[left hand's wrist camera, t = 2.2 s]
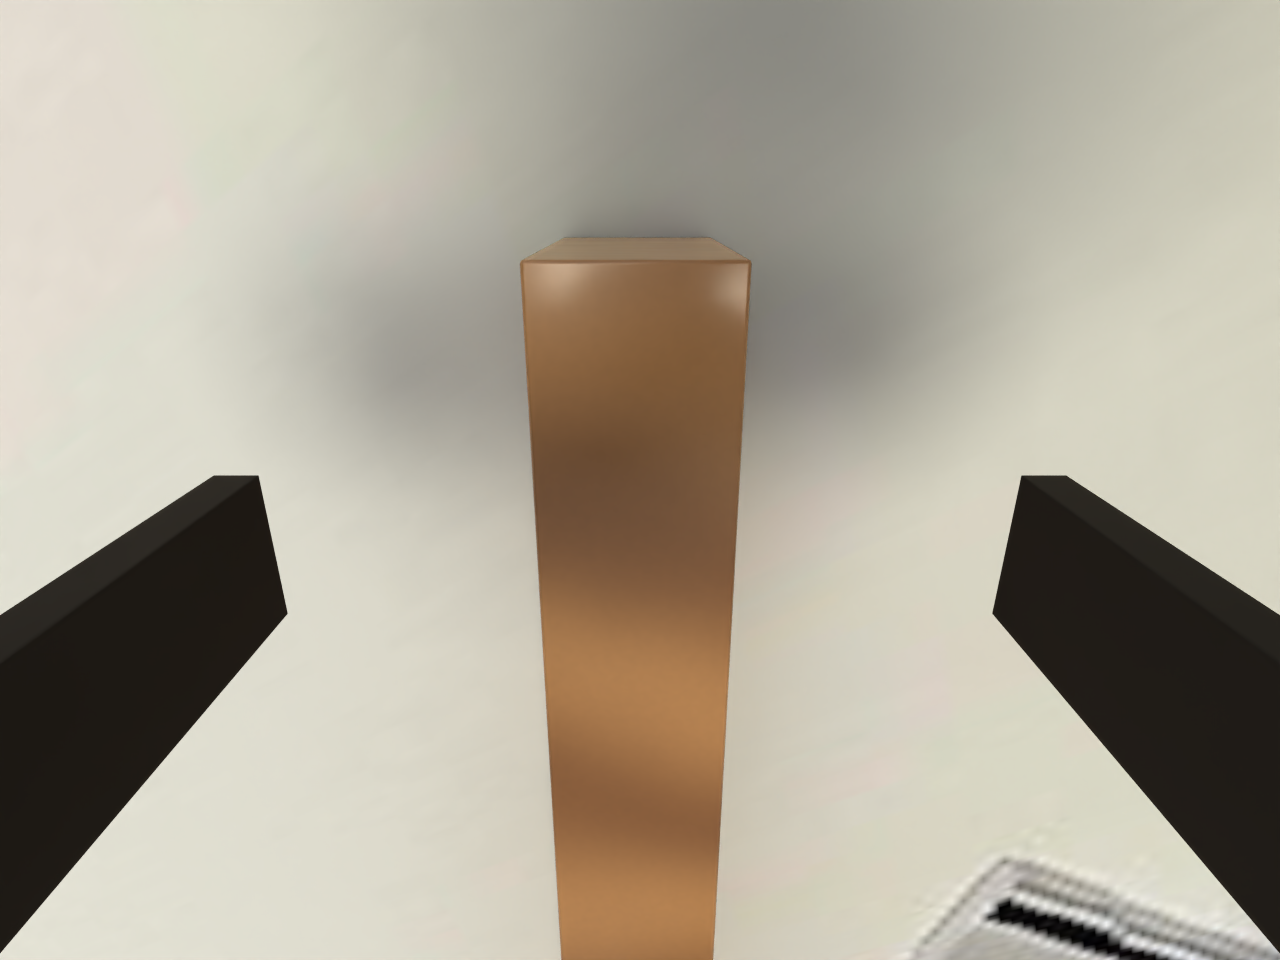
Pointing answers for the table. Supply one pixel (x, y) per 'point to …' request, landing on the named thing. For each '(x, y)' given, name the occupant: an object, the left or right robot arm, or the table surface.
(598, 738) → the bar
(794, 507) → the table surface
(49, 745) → the left robot arm
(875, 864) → the table surface
